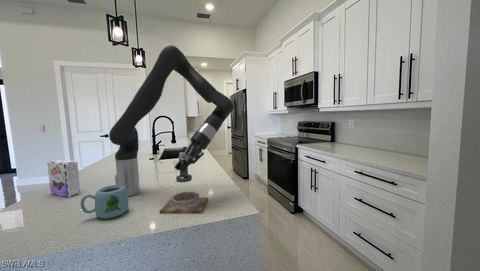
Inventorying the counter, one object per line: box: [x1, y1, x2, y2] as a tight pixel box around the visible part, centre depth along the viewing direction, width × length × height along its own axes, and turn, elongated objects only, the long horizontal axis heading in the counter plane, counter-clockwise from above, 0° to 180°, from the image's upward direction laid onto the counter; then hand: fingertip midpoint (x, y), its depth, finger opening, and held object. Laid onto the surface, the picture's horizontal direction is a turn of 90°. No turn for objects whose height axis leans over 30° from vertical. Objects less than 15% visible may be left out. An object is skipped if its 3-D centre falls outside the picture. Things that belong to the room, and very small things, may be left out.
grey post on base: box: [175, 152, 193, 183], centre depth 83 cm, size 6×6×11 cm
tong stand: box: [159, 191, 209, 215], centre depth 85 cm, size 16×12×4 cm
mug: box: [79, 184, 130, 220], centre depth 79 cm, size 15×11×10 cm
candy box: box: [46, 159, 81, 198], centre depth 102 cm, size 14×6×16 cm, turn 68°
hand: (178, 169), depth 82 cm, fingers closed on grey post on base, 3 cm apart
